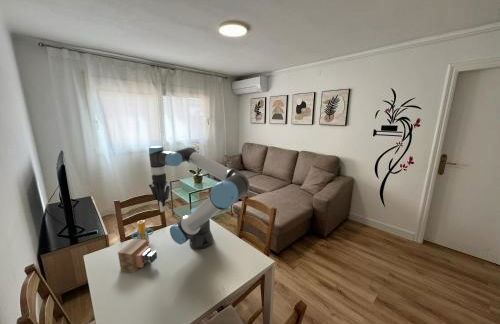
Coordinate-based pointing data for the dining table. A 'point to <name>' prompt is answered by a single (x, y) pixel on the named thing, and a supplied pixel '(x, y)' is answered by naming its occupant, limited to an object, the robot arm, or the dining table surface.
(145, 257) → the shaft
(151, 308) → the dining table surface
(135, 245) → the block
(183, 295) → the dining table surface
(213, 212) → the robot arm
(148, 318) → the dining table surface
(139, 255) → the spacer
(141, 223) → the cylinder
